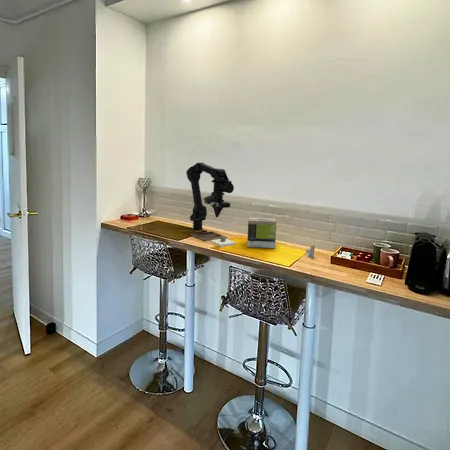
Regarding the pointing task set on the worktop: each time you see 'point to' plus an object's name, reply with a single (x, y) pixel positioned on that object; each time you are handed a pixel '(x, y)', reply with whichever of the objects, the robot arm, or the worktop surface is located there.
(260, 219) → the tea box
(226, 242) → the cover plate
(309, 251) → the architectural model
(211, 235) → the brown flat slab
